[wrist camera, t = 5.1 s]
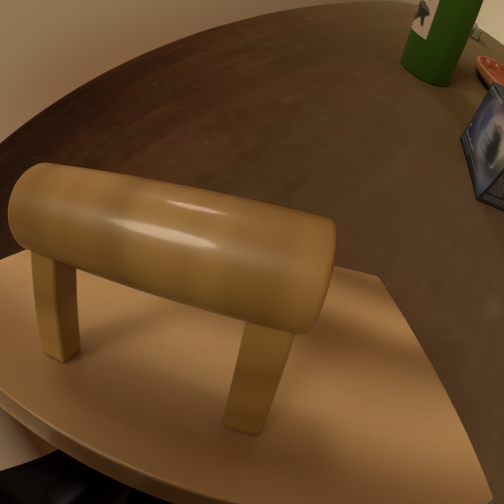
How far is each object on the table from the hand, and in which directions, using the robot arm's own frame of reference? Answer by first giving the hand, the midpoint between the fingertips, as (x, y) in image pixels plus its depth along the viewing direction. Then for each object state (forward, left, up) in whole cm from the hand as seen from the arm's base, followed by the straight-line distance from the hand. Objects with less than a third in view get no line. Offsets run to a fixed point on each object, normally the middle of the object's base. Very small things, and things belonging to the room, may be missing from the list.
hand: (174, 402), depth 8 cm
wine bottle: (+36, -40, -12) cm, 55 cm away
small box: (+14, -35, -12) cm, 39 cm away
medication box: (+70, -90, -12) cm, 115 cm away
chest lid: (+3, -1, -1) cm, 3 cm away
